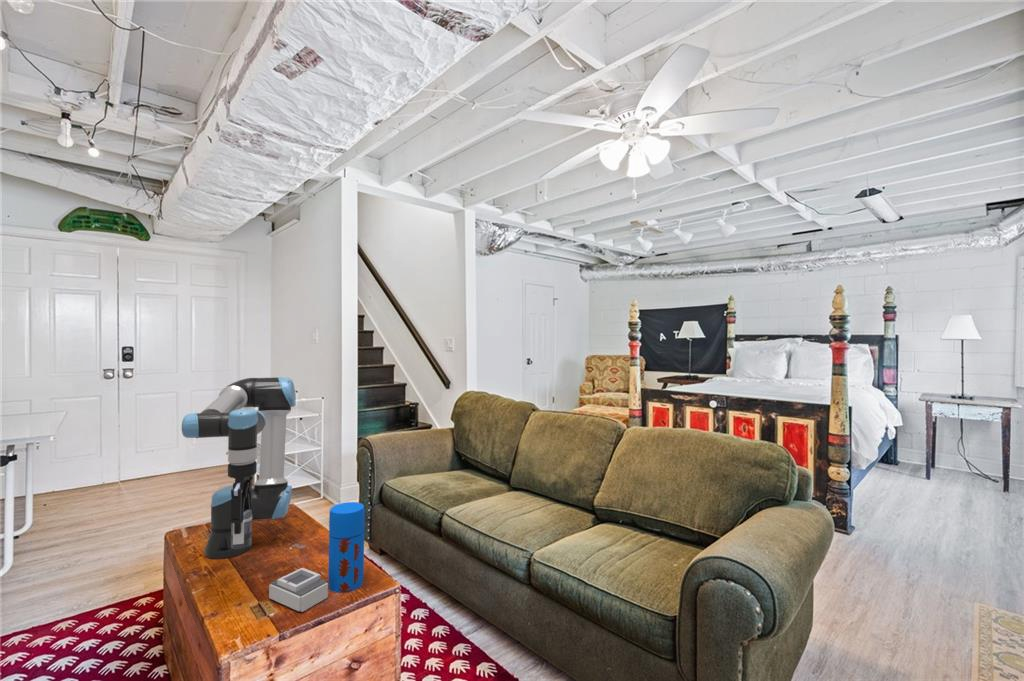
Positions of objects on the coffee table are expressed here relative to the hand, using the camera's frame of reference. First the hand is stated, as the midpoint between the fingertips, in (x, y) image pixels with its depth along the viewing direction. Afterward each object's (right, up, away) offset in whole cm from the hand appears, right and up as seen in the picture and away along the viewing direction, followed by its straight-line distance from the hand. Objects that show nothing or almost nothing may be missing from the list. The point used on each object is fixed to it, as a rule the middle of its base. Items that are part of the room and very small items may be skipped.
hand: (241, 539), depth 139 cm
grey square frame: (+15, -20, +4) cm, 26 cm away
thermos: (+27, -20, +12) cm, 36 cm away
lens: (0, -2, 0) cm, 2 cm away
